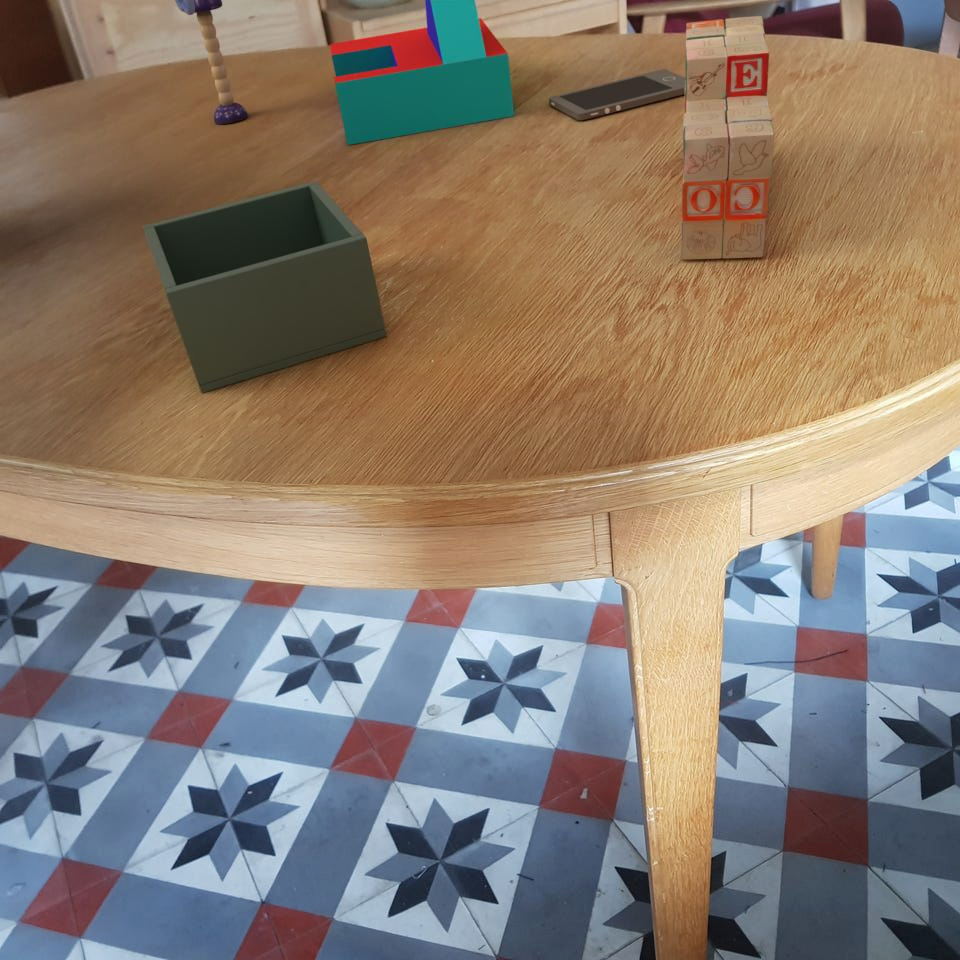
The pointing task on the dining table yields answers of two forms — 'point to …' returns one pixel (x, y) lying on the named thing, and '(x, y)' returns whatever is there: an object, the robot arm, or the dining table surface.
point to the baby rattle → (186, 6)
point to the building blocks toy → (423, 76)
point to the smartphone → (620, 94)
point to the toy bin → (266, 283)
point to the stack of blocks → (726, 139)
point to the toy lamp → (217, 64)
